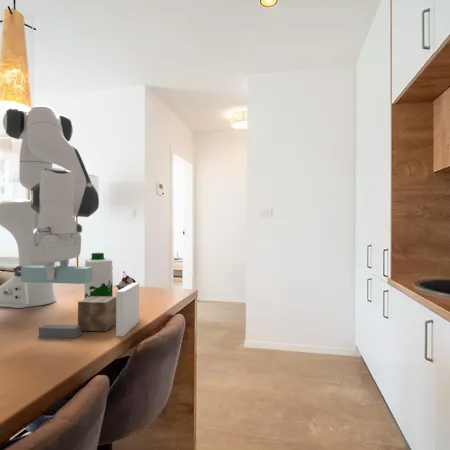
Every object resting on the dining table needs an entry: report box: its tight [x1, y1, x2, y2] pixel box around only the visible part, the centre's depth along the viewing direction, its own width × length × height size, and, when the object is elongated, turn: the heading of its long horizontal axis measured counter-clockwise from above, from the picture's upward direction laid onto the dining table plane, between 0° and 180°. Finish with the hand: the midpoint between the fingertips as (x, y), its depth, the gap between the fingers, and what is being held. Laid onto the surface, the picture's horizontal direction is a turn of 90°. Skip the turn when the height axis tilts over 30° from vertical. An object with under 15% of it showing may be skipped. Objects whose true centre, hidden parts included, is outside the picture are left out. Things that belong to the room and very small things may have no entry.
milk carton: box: [84, 252, 114, 299], centre depth 120 cm, size 9×9×20 cm
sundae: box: [115, 270, 137, 291], centre depth 115 cm, size 7×7×15 cm
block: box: [77, 296, 116, 332], centre depth 102 cm, size 8×8×8 cm
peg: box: [21, 265, 92, 285], centre depth 97 cm, size 18×4×4 cm, turn 86°
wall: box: [115, 282, 140, 337], centre depth 102 cm, size 2×14×12 cm, turn 177°
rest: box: [38, 324, 82, 339], centre depth 95 cm, size 10×3×2 cm, turn 87°
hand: (57, 277), depth 97 cm, fingers closed on peg, 4 cm apart
